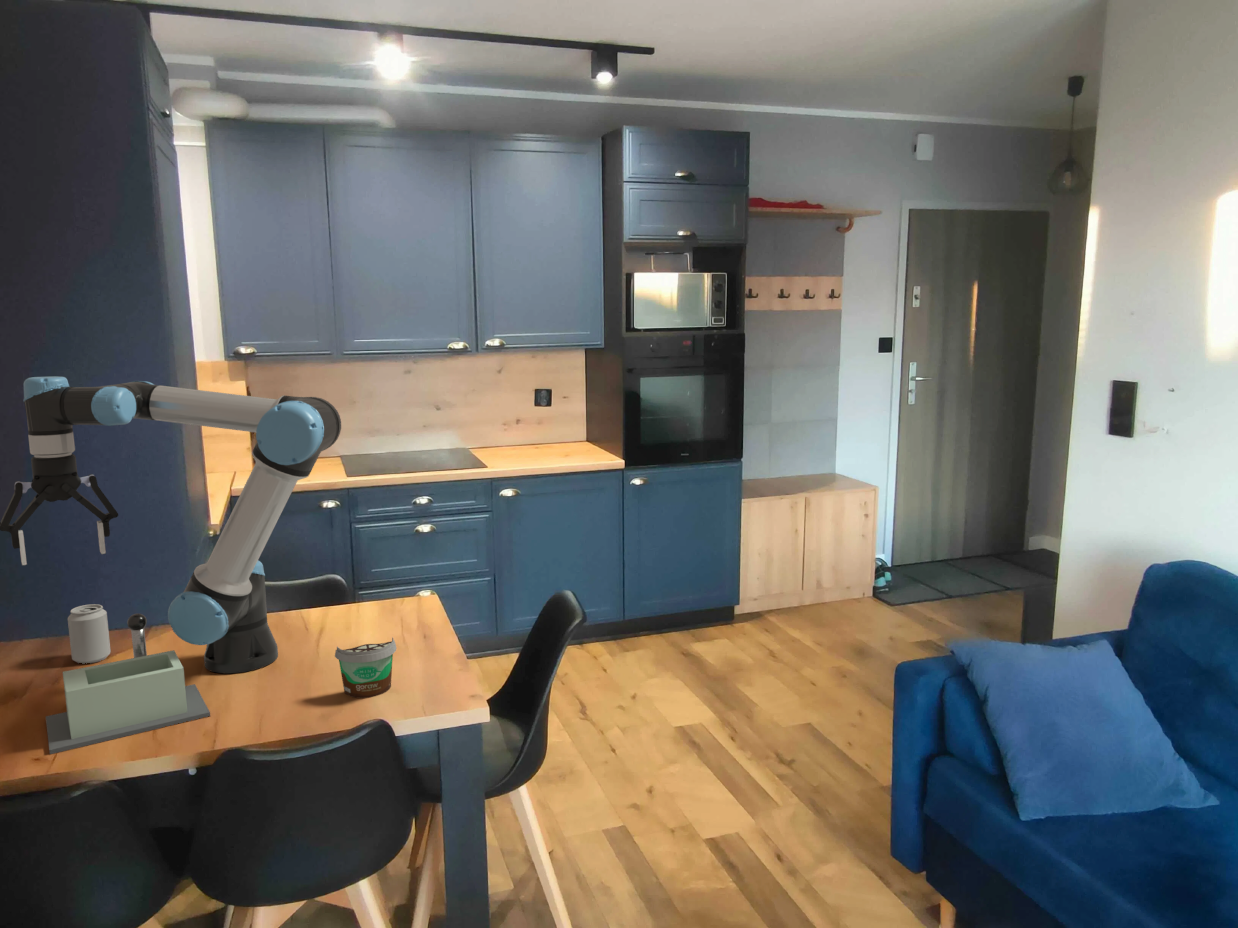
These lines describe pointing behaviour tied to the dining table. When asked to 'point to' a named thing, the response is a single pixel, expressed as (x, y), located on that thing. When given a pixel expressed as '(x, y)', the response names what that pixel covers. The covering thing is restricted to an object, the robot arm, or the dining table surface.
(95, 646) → the can
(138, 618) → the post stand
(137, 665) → the green slotted block
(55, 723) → the rubber mat
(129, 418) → the robot arm
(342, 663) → the food container
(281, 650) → the dining table surface
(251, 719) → the dining table surface
